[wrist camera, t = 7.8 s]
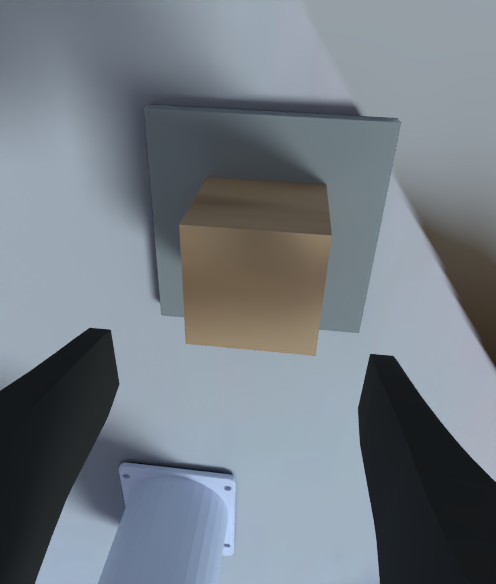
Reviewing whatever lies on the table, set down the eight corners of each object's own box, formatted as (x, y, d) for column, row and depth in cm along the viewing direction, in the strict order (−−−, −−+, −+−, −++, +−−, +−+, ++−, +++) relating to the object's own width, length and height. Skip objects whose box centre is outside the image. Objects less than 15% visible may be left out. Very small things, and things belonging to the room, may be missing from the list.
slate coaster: (357, 323, 23) (359, 332, 23) (165, 306, 24) (161, 315, 23) (397, 118, 18) (401, 122, 17) (149, 104, 19) (143, 108, 18)
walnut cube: (313, 287, 22) (315, 355, 17) (209, 278, 22) (185, 343, 18) (326, 184, 19) (332, 235, 15) (207, 176, 19) (179, 224, 15)
